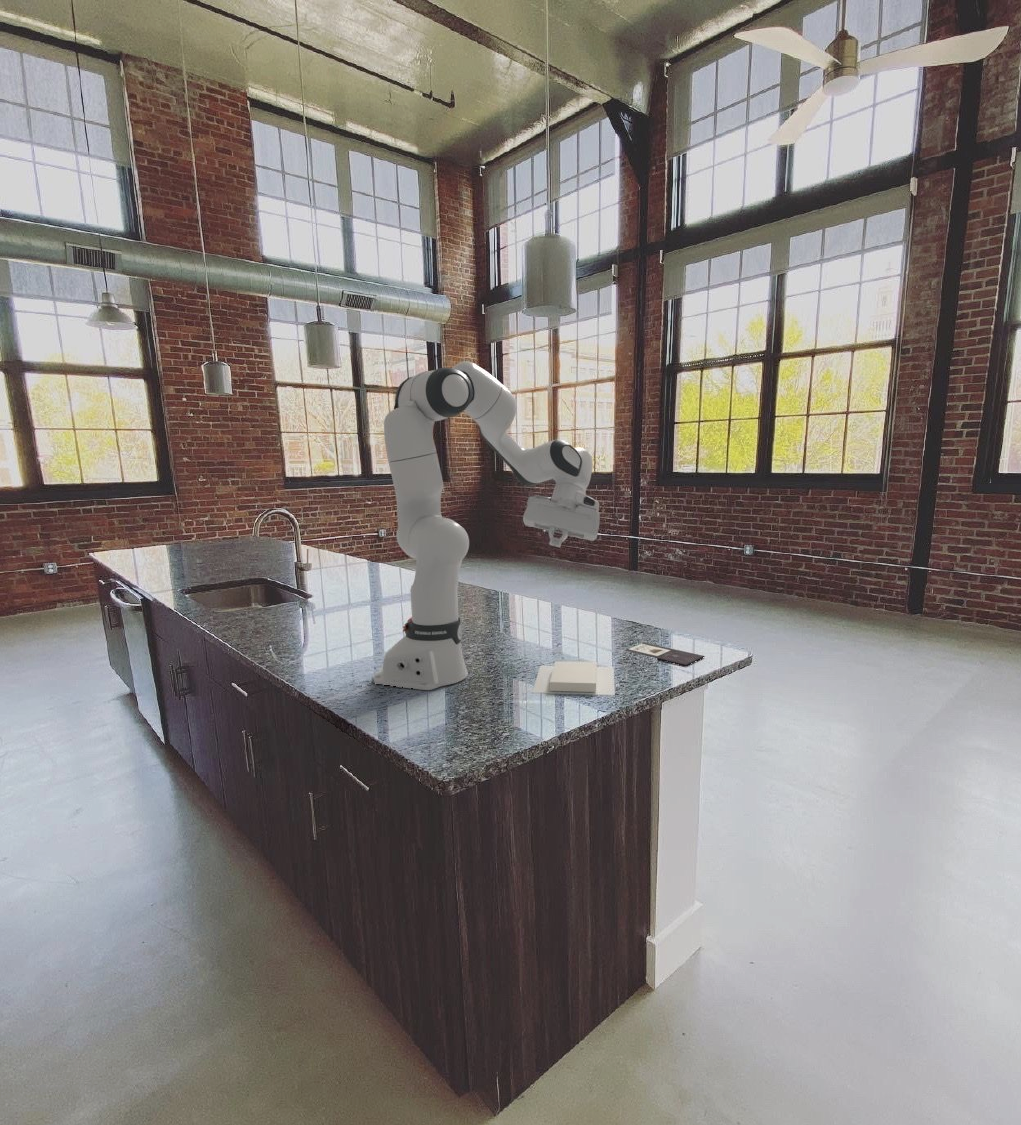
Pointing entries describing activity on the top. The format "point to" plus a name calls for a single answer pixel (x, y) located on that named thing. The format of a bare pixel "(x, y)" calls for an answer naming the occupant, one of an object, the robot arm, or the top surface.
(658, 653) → the chocolate bar
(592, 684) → the tile
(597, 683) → the mat
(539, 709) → the top surface
